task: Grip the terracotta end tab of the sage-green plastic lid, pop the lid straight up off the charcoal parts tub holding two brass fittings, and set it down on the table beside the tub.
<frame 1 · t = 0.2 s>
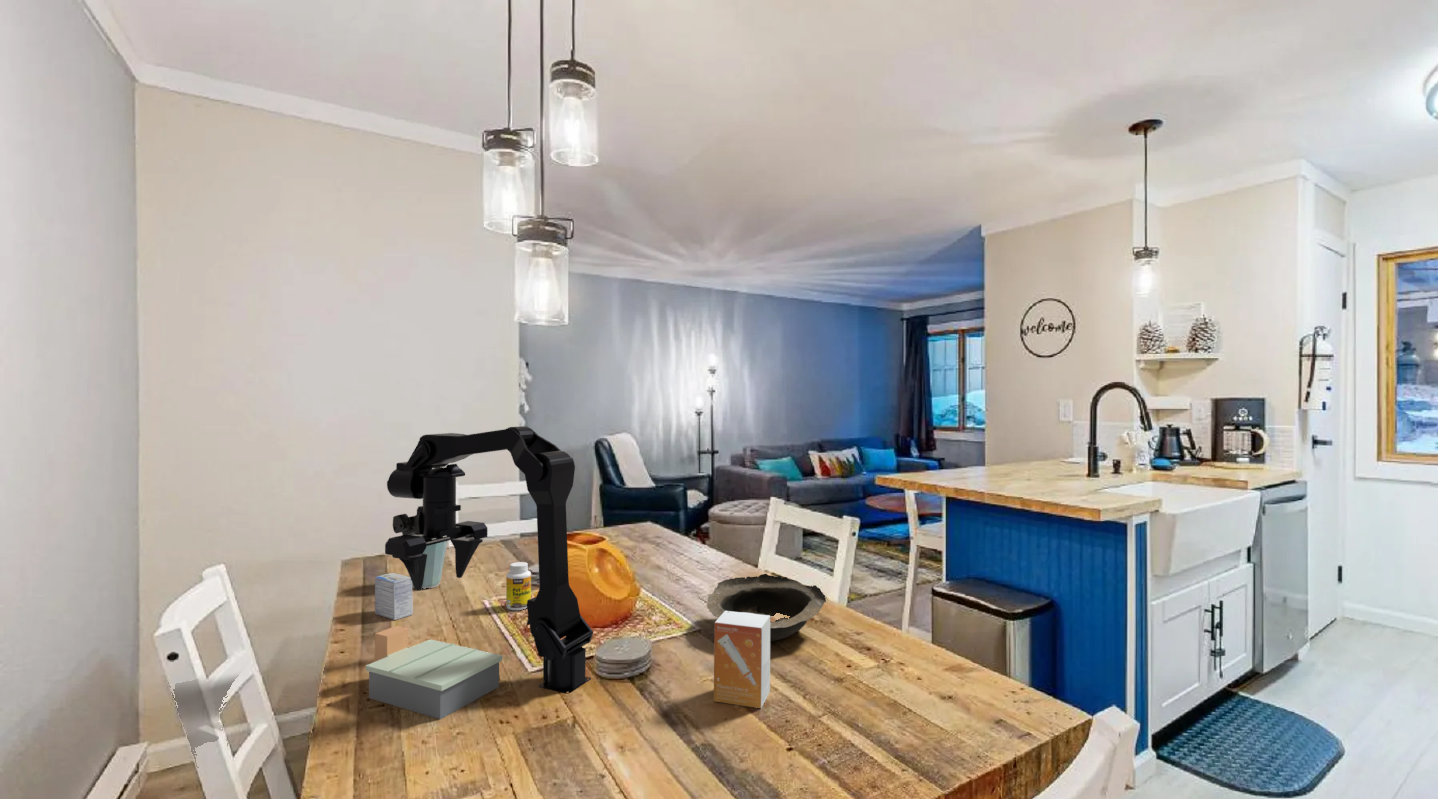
hand: (439, 583, 118), 14 cm above the table, tool pointing down, fingers open, 9 cm apart
small box: (742, 698, 103), on the table
stone bowl: (765, 633, 133), on the table
medicine box: (393, 615, 143), on the table
lid: (435, 665, 104), point 5 cm above the table, touching tub
brass part 2: (412, 692, 103), point 1 cm above the table, touching tub
tub: (435, 695, 104), on the table
supplement bottle: (518, 608, 148), on the table
brass part 1: (458, 692, 104), point 1 cm above the table, touching tub
disposable coffee cup: (426, 586, 165), on the table
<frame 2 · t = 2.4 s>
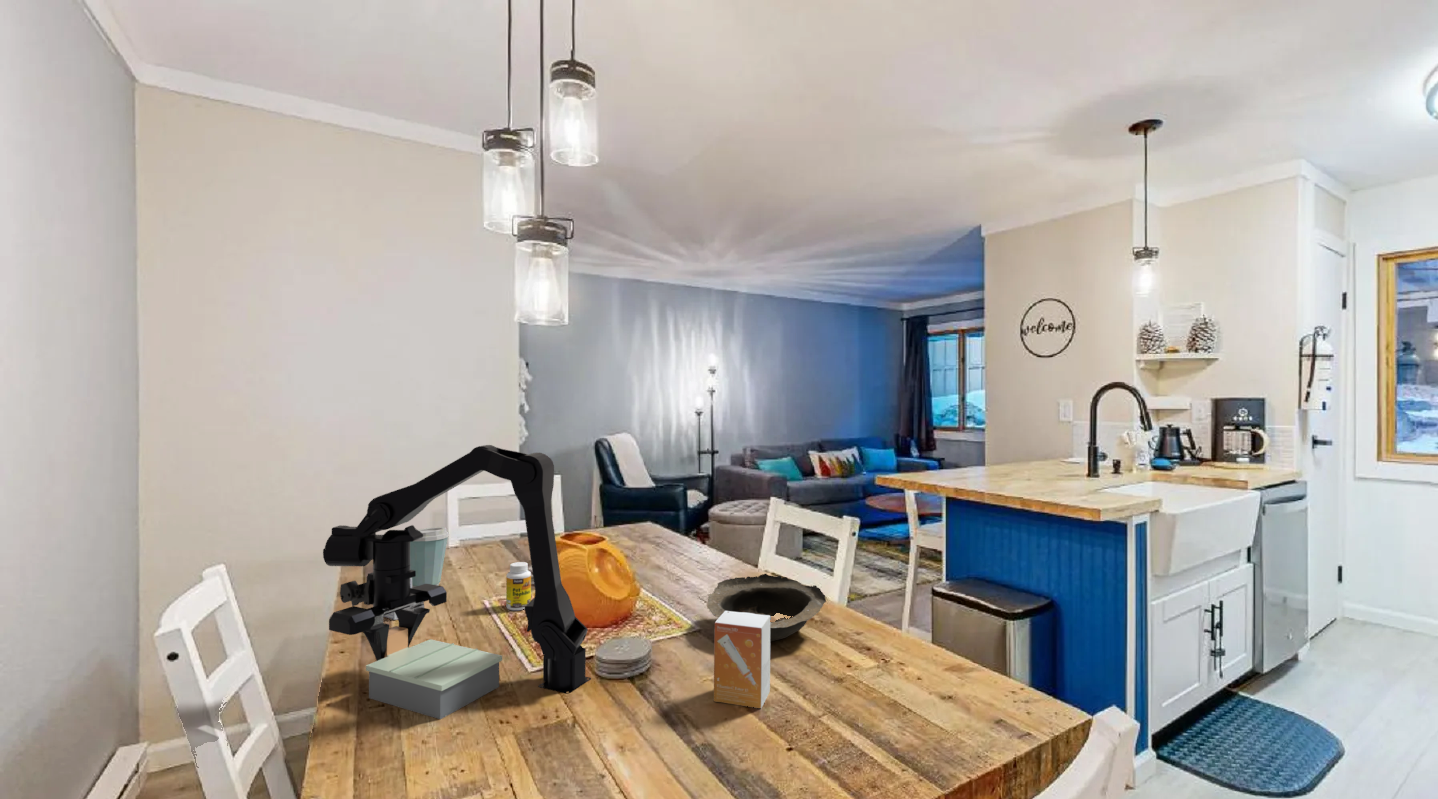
hand: (391, 657, 108), 5 cm above the table, tool pointing down, fingers closed on lid, 4 cm apart
lid: (435, 665, 104), point 5 cm above the table, touching gripper, tub
everything else where it was.
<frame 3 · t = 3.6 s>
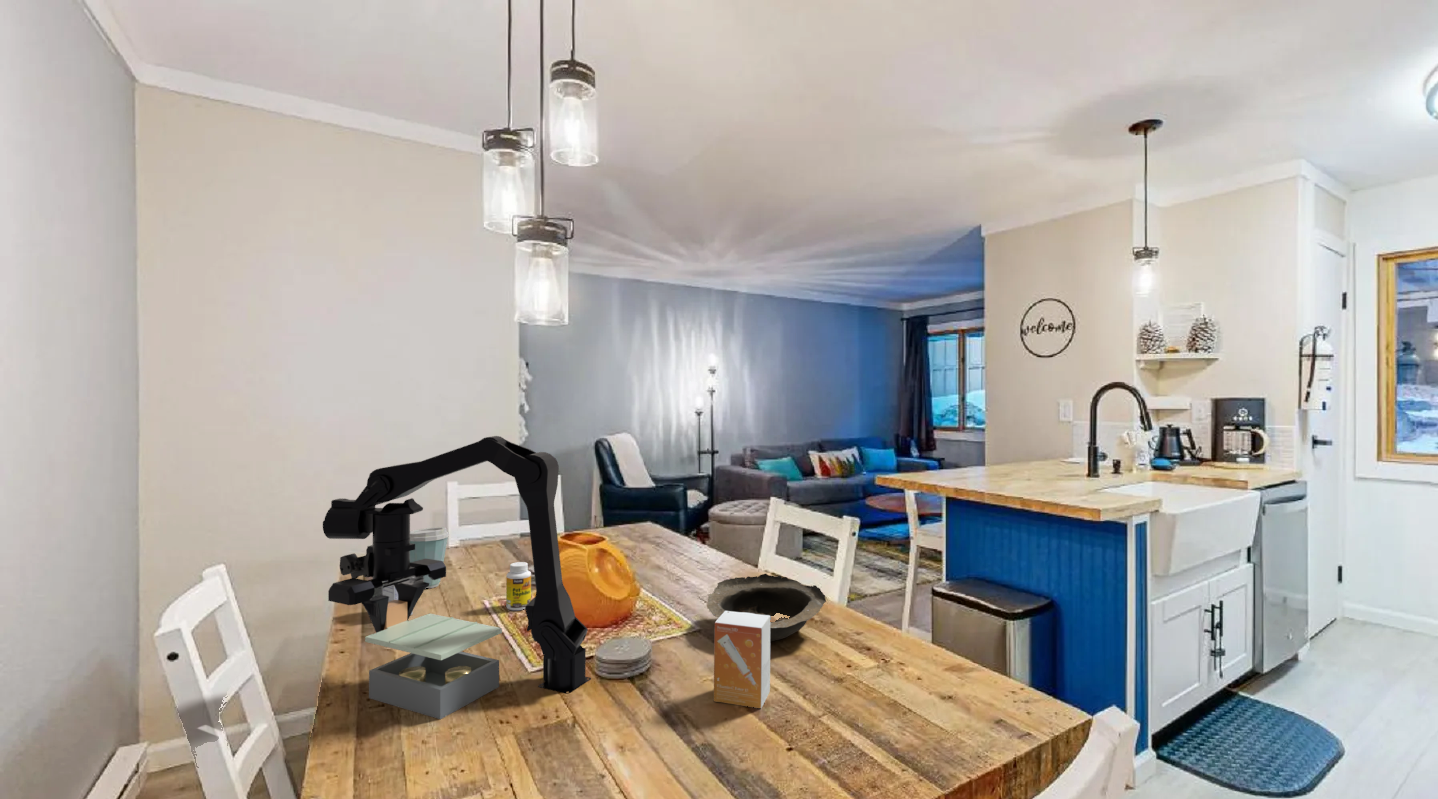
hand: (391, 630, 108), 9 cm above the table, tool pointing down, fingers closed on lid, 4 cm apart
lid: (434, 637, 104), point 10 cm above the table, touching gripper
everything else where it was.
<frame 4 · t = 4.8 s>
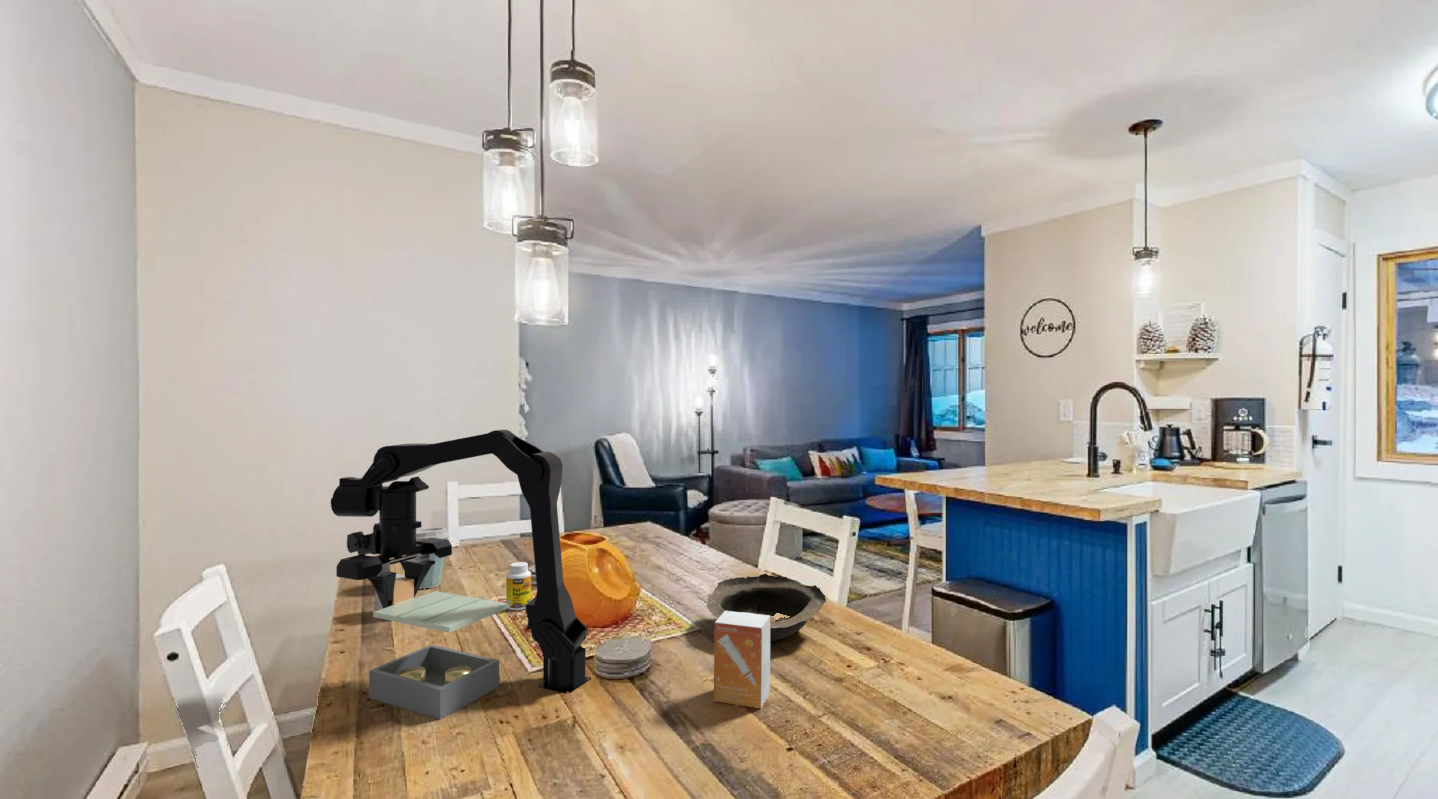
hand: (398, 606, 109), 13 cm above the table, tool pointing down, fingers closed on lid, 4 cm apart
lid: (441, 612, 105), point 13 cm above the table, touching gripper
everything else where it was.
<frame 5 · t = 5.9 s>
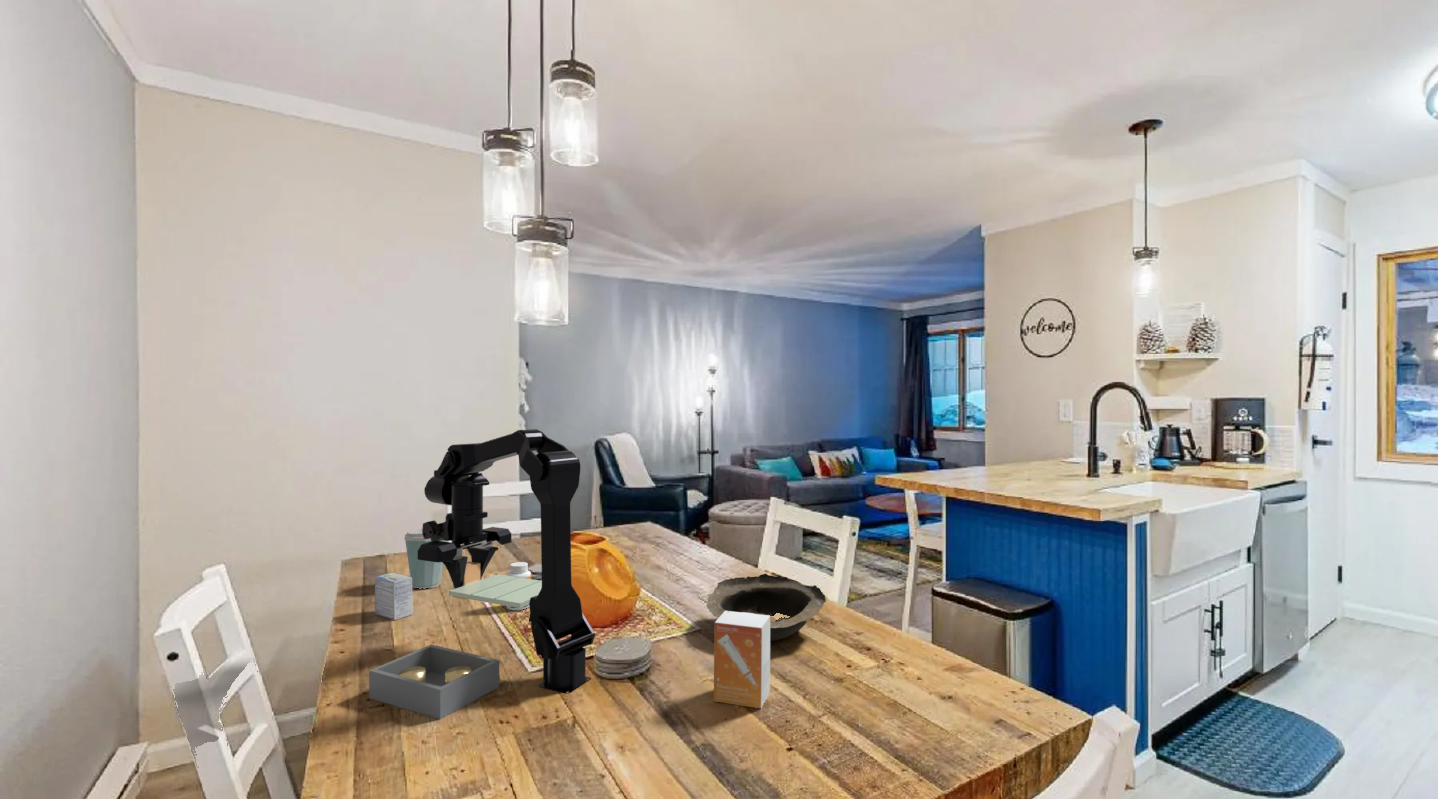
hand: (467, 587, 123), 12 cm above the table, tool pointing down, fingers closed on lid, 4 cm apart
lid: (508, 591, 119), point 13 cm above the table, touching gripper
everything else where it was.
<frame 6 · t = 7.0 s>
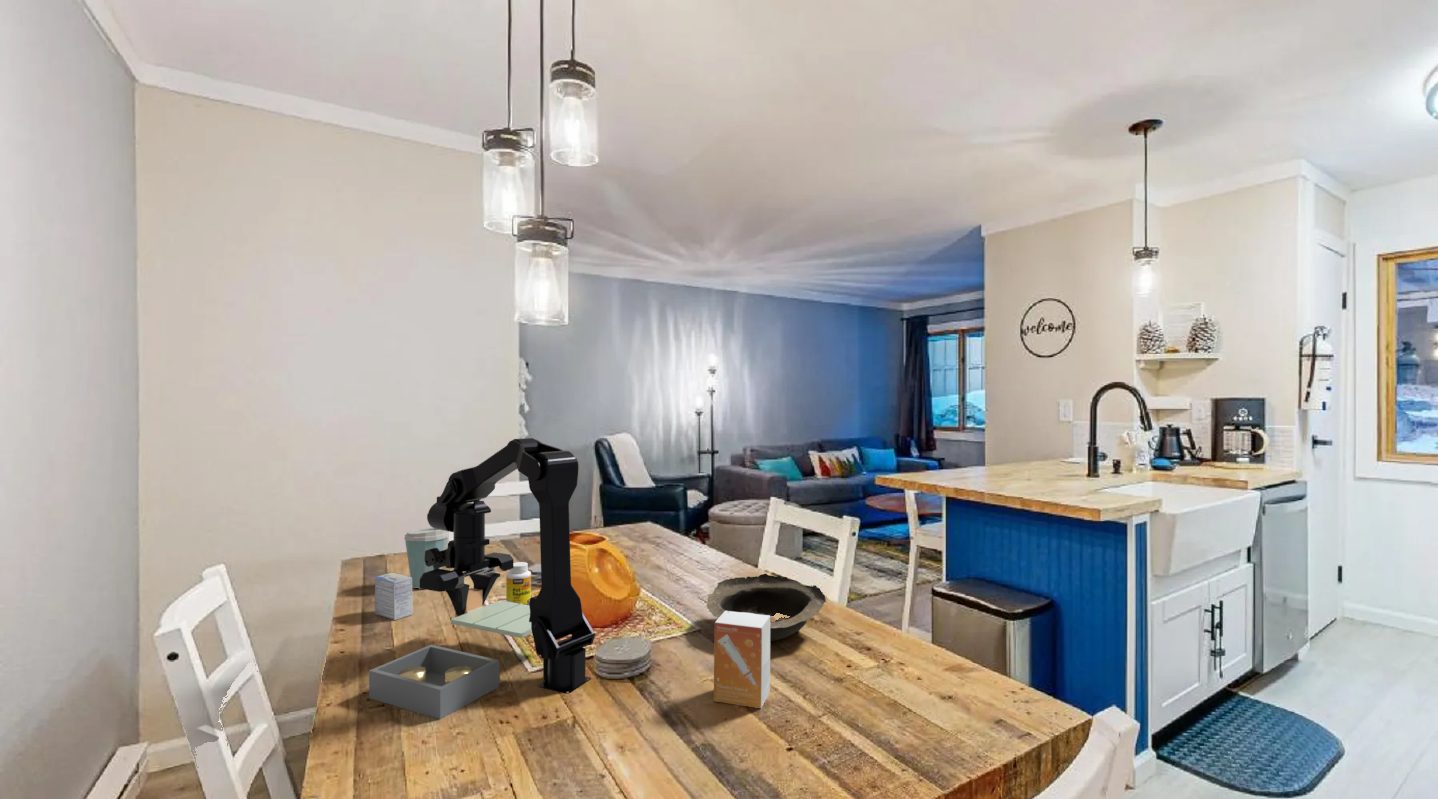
hand: (469, 614, 124), 7 cm above the table, tool pointing down, fingers closed on lid, 4 cm apart
lid: (509, 619, 119), point 7 cm above the table, touching gripper
everything else where it was.
when the fingers open (3 cm above the table, at t = 8.4 s): lid drops 2 cm, point 1 cm above the table.
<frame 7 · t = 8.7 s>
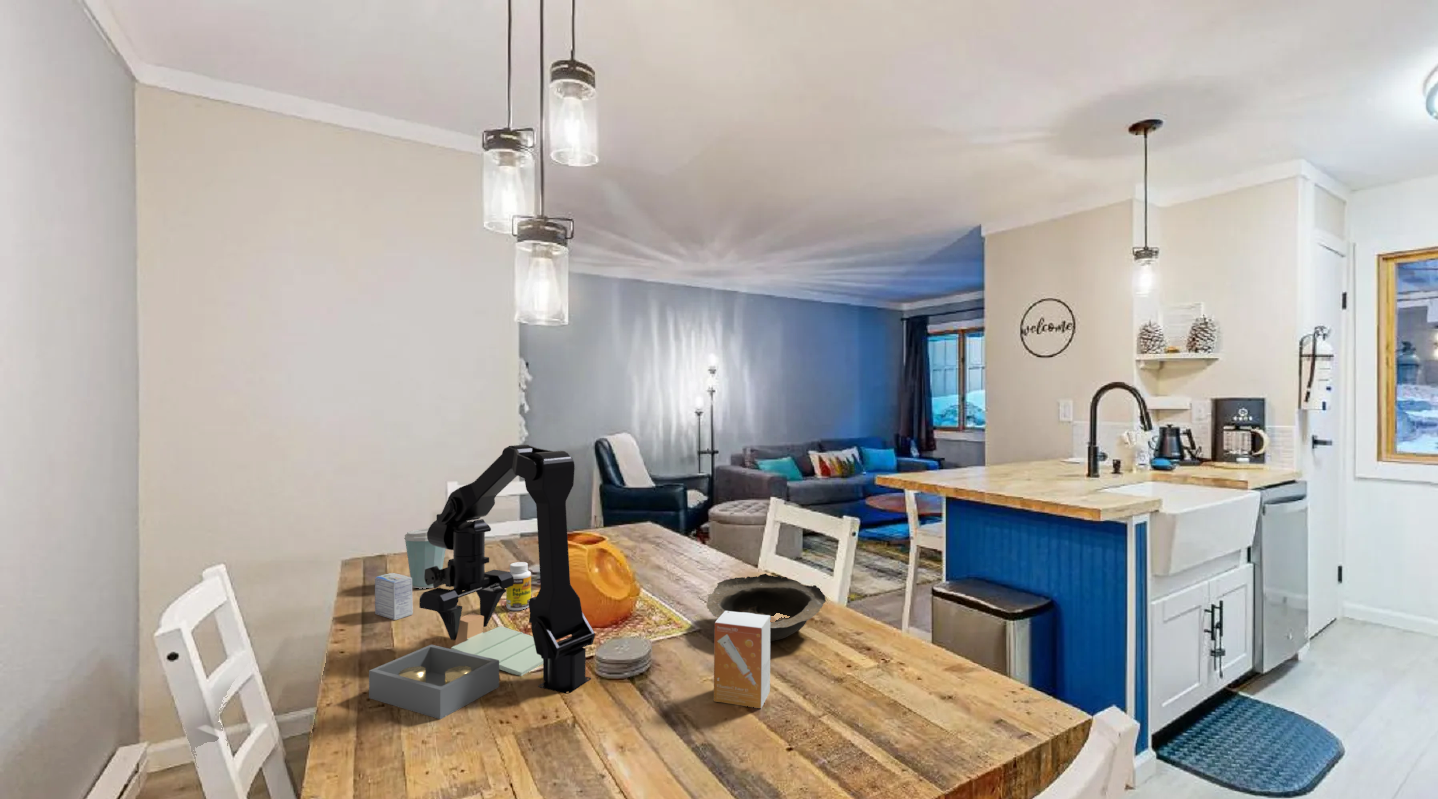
hand: (468, 632, 124), 3 cm above the table, tool pointing down, fingers open, 7 cm apart
lid: (509, 651, 119), point 1 cm above the table, tilted 5°
everything else where it was.
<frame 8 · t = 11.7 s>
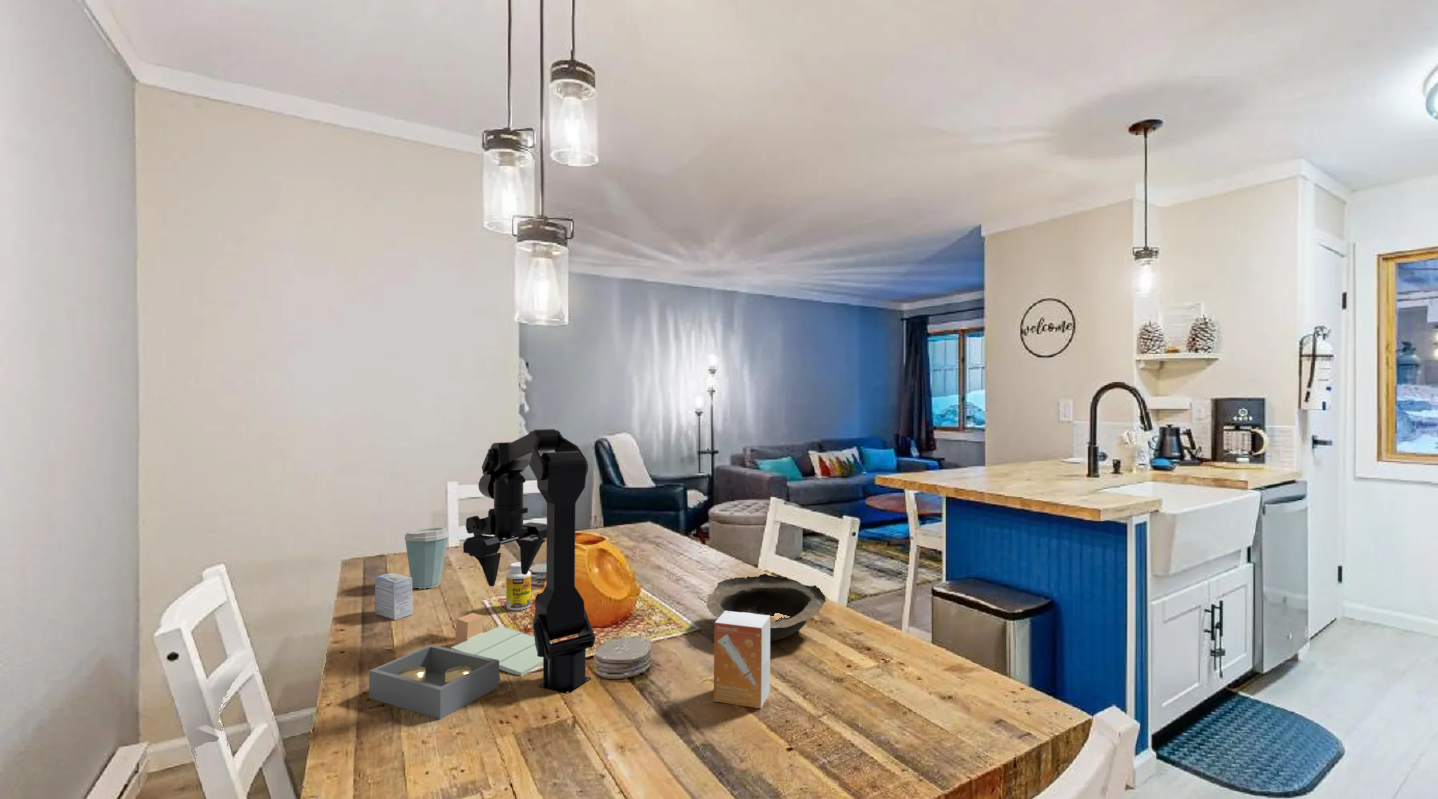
hand: (508, 580, 128), 12 cm above the table, tool pointing down, fingers open, 9 cm apart
nothing on the table moved.
at the end: lid inside the target area (0.5 cm from its centre), point 1.1 cm above the table; lid touching table; the gripper is holding nothing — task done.
